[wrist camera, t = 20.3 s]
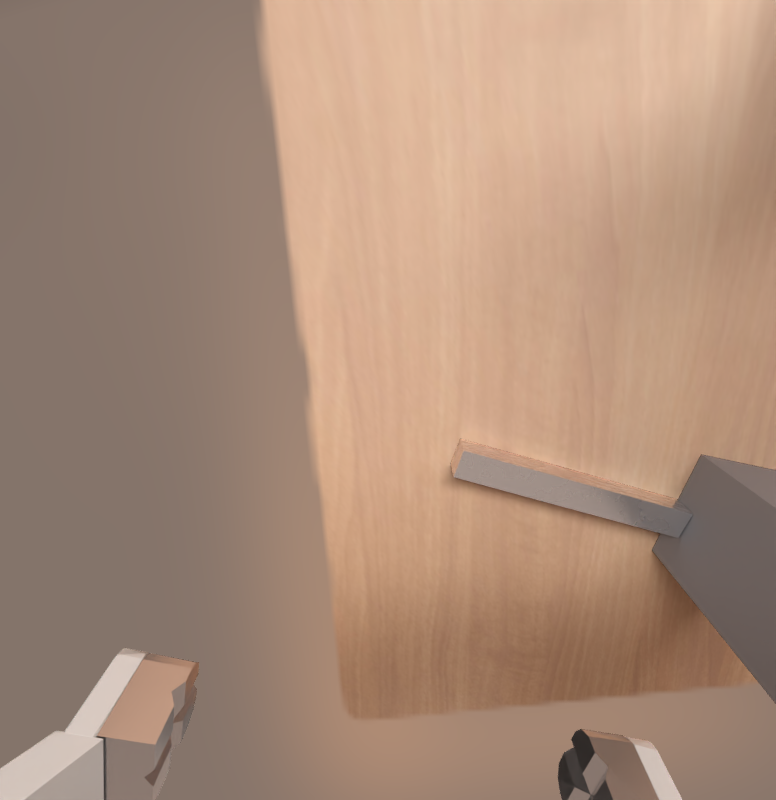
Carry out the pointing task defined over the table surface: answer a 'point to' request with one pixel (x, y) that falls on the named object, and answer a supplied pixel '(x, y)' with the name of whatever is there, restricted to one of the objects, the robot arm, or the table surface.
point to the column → (731, 558)
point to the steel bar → (569, 488)
